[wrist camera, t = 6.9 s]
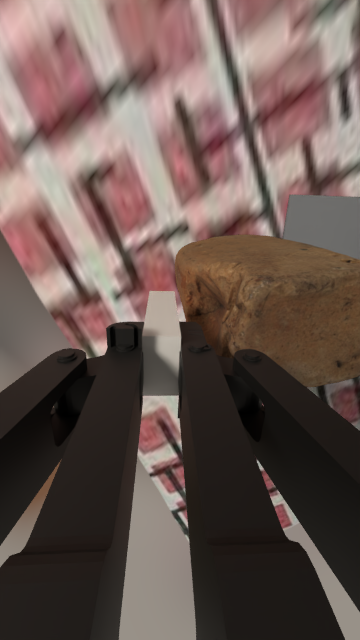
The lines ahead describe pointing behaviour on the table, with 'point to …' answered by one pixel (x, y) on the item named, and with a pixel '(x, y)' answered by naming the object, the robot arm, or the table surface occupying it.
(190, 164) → the table surface
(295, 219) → the mat
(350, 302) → the block
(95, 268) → the table surface
